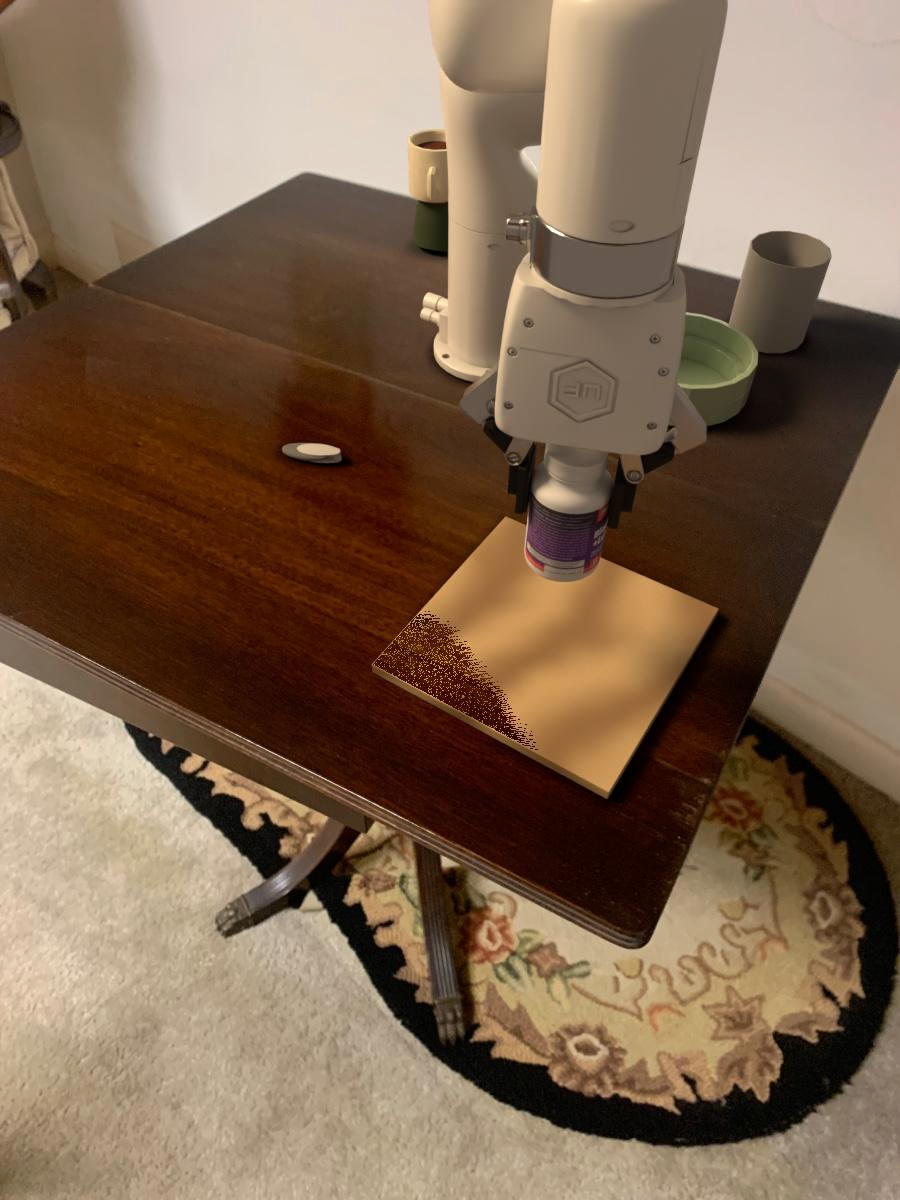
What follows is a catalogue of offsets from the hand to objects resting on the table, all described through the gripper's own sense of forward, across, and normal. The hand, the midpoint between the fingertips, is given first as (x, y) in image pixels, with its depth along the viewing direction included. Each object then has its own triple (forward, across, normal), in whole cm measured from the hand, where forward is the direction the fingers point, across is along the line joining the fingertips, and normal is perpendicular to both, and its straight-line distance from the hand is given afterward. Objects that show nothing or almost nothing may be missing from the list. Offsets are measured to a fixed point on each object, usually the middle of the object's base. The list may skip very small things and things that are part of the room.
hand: (568, 506), depth 59 cm
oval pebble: (+15, -26, +18) cm, 35 cm away
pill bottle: (+5, 0, 0) cm, 5 cm away
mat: (+14, 0, 0) cm, 14 cm away
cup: (+15, +17, +51) cm, 56 cm away
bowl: (+14, +8, +38) cm, 41 cm away
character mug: (+15, -24, +63) cm, 69 cm away
